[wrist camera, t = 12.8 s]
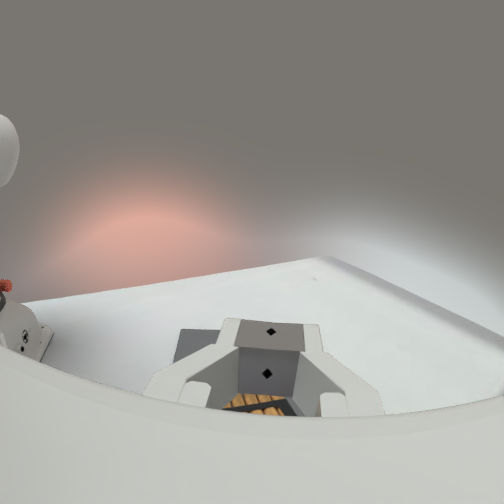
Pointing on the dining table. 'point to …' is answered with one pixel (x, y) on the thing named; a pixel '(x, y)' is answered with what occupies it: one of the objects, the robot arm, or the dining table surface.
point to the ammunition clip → (260, 405)
